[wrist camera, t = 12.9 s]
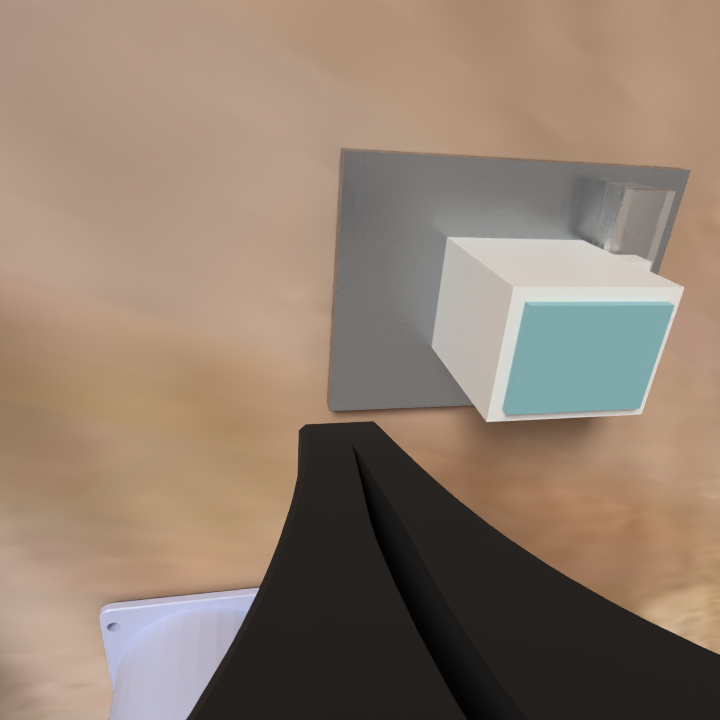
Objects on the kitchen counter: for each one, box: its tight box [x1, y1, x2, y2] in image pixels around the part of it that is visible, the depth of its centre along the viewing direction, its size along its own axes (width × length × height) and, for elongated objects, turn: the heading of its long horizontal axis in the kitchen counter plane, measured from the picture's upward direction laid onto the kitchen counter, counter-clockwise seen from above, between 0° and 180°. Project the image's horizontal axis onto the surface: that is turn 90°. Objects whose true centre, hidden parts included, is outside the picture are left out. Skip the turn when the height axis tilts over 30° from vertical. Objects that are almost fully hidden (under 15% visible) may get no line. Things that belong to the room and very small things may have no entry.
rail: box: [590, 182, 676, 272], centre depth 20 cm, size 8×2×2 cm, turn 176°
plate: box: [327, 148, 690, 411], centre depth 20 cm, size 9×12×1 cm
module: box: [432, 237, 684, 422], centre depth 18 cm, size 4×6×5 cm
